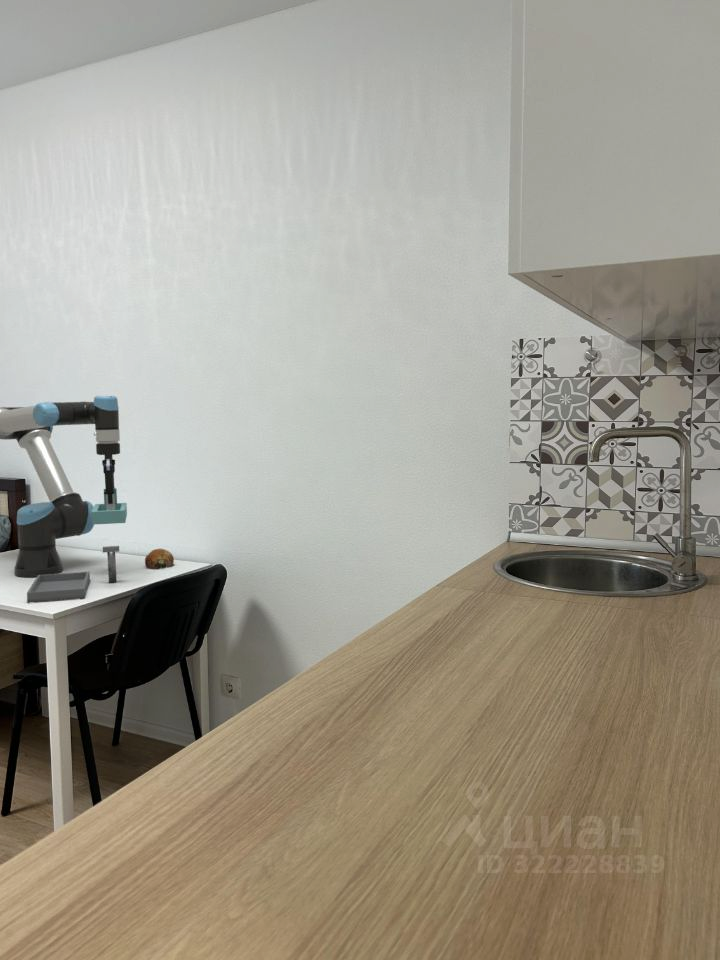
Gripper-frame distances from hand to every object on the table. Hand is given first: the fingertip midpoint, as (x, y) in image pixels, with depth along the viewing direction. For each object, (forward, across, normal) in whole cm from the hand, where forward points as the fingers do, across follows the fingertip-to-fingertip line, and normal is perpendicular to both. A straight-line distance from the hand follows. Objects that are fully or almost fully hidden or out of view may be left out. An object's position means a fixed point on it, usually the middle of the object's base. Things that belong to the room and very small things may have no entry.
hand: (111, 512), depth 258 cm
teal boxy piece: (+1, +8, 0) cm, 8 cm away
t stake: (+21, +12, 0) cm, 24 cm away
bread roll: (+21, -7, +15) cm, 27 cm away
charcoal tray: (+21, +20, -15) cm, 32 cm away
